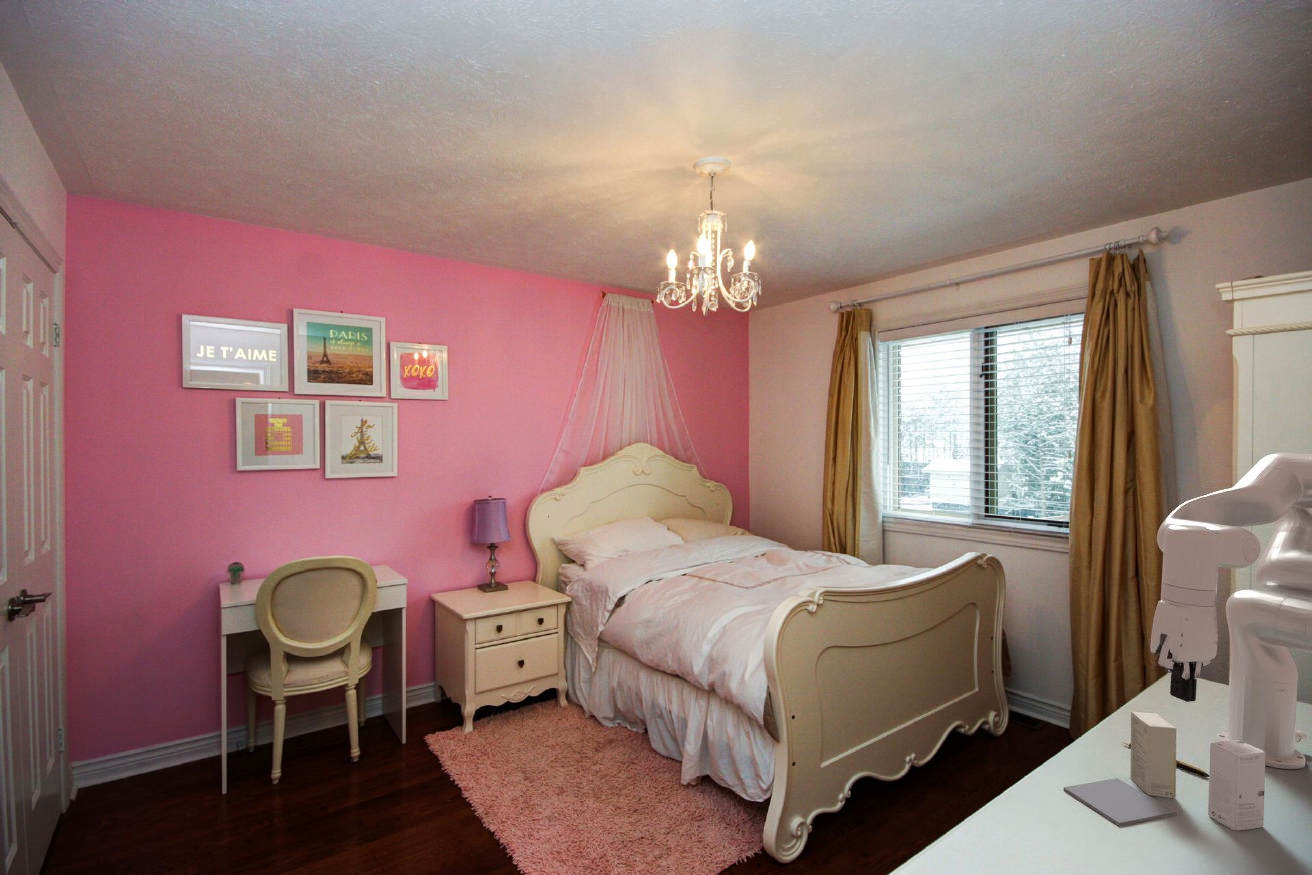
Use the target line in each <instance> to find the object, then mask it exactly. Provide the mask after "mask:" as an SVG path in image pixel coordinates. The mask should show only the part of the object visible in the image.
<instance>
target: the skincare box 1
mask: <svg viewBox="0 0 1312 875" xmlns="http://www.w3.org/2000/svg"><path fill="white" fill-rule="evenodd" d="M1130 743H1131V748H1130V773H1129V774H1130V778H1131V780H1133V782H1134V783H1135V784H1137V785H1138V787H1139V788H1140V789H1141V790H1142V791H1143V792H1144V793H1145V794H1146V795H1148V796H1153V797H1160V798H1172V799H1176V796H1177V795H1176V794H1177V793H1176V791H1177V789H1176V788H1177V787H1176V784H1177V783H1176V782H1177V767H1176V760H1177V727H1176V726H1174V725H1173V724H1172V723H1171V722H1169V721H1168V720H1166V719H1165V718H1164V717H1163V716H1161V715H1160V714H1158V713H1156V712H1146V711H1134V710H1131V711H1130Z"/></svg>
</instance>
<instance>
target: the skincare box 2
mask: <svg viewBox="0 0 1312 875" xmlns="http://www.w3.org/2000/svg"><path fill="white" fill-rule="evenodd" d="M1209 748H1210V749H1209V774H1208V775H1209V777H1208V778H1209V780H1208V782H1209V783H1208V802H1207V803H1208V807H1207V808H1208V809H1207V815H1208V816H1209V817H1211V818H1212V819H1213V820H1215V821H1216V822H1218V823H1220V824H1222V825H1224V826H1225V827H1227V828H1229V829H1230V830H1232V831H1245V830H1252V829H1253V830H1254V829H1257V828H1258V829H1260V828H1262V827H1264V824H1265V823H1264V821H1265V820H1264V819H1265V818H1264V816H1265V814H1264V813H1265V791H1266V790H1265V787H1266V786H1265V783H1266V782H1265V781H1266V776H1265V775H1266V765H1265V752H1264V751H1262V750H1260V749H1258V748H1255V747H1253V746H1251V745H1248V744H1246V743H1244V742H1241V741H1239V740H1236V741H1221V742H1217V741H1215V742H1210V747H1209Z"/></svg>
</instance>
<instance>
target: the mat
mask: <svg viewBox="0 0 1312 875" xmlns="http://www.w3.org/2000/svg"><path fill="white" fill-rule="evenodd" d="M1063 791H1064V792H1066V793H1068V795H1070V796H1072V797H1074V798H1075V799H1077V800H1078V801H1079V802H1081V803H1083V804H1084V805H1086V806H1087V807H1088V808H1090V809H1092V810H1094V811H1095V812H1097V813H1098V814H1100V815H1101V816H1103V817H1104V818H1106V819H1108V820H1109V821H1110V822H1112V823H1114V824H1115V825H1117V826H1118V827H1121V826H1125V825H1130V824H1135V823H1141V822H1146V821H1152V820H1158V819H1161V818H1166V817H1171V816H1176V815H1177V811H1175V810H1173V809H1172V808H1170V807H1168V806H1166V805H1165V804H1164V803H1161V802H1159V801H1158V800H1157V799H1154V797H1151V796H1150V795H1148V794H1147V793H1145V792H1142V791H1141V790H1139V789H1137V788H1135V787H1134V786H1132V785H1130V784H1128V783H1127V782H1125V781H1123V780H1121V779H1119V778H1118V777H1116V778H1109V779H1104V780H1098V781H1092V782H1088V783H1082V784H1075V785H1069V786H1064V787H1063Z"/></svg>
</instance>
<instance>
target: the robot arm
mask: <svg viewBox="0 0 1312 875" xmlns="http://www.w3.org/2000/svg"><path fill="white" fill-rule="evenodd" d="M1272 523H1274V526H1275V527H1274V530H1273V533H1272V535H1271V538H1270V539H1269V541H1268V542H1267V543H1268V544H1267V546H1266V547H1265V549H1264V551H1263V554H1262V556H1261V558H1260V560H1259V561H1258V564H1257V567H1256V570H1255V580H1256V583H1258V586H1260V587H1261V588H1263V589H1264V590H1260V589H1250V588H1249V589H1241V590H1237V591H1235V592H1233V593H1231V594H1230V596H1229V597H1228V599H1227V600H1226V603H1225V604H1226V605H1225V614H1226V615H1225V616H1226V622H1227V626H1228V632H1229V633H1228V634H1229V643H1230V644H1229V645H1230V657H1229V658H1230V659H1229V660H1230V662H1229V680H1228V681H1229V684H1228V707H1227V708H1228V710H1227V711H1228V712H1227V730H1224V731H1220V732H1219V733H1217V734H1216V742H1221V741H1236V740H1239V741H1241V742H1244V743H1246V744H1248V745H1251V746H1253V747H1255V748H1258V749H1260V750H1262V751H1264V752H1265V767H1266V766H1267V767H1269V768H1270V767H1271V768H1275V769H1276V768H1277V769H1284V770H1298V769H1302V768H1304V767H1305V766H1306V757H1305V756H1304V755H1303V754H1302V753H1301V752H1300V751H1299V750H1297V749H1296V744H1297V743H1299V742H1300V743H1301V742H1304V741H1305V742H1306V740H1307V739H1308V737H1307V734H1306V732H1304V731H1302V730H1297V729H1296V719H1297V716H1296V715H1297V700H1298V699H1297V698H1298V697H1297V696H1298V695H1297V694H1298V681H1299V672H1298V668H1297V665H1296V663H1295V661H1294V658H1293V657H1292V656H1291V653H1290V652H1289V651H1288V650H1287V648H1290V649H1293V650H1296V651H1301V652H1305V653H1308V654H1312V453H1307V452H1305V453H1301V452H1300V453H1299V452H1276V453H1271V454H1268V455H1266V456H1264V457H1262V458H1261V459H1260V460H1258V462H1256V463H1255V464H1254V465H1253V467H1252V468H1250V469H1249V470H1248V471H1247V473H1246V474H1244V475H1243V476H1242V477H1241V478H1240V479H1239V480H1238V482H1236V483H1235V484H1234V485H1233V486H1232V487H1230V488H1225V489H1222V490H1219V491H1215V492H1212V493H1209V494H1206V495H1203V496H1199V497H1196V498H1193V499H1190V500H1187V501H1185V502H1184V503H1182V504H1180V505H1179V506H1177V507H1176V508H1175V509H1174V510H1173V511H1172V512H1171V513H1170V514H1169V515H1168V516H1167V517H1166V518H1165V519H1164V521H1163V522H1162V523H1161V524H1160V527H1158V528H1159V529H1158V531H1157V534H1156V535H1157V536H1156V542H1157V545H1158V548H1159V549H1160V551H1161V552H1162V554H1163V555H1162V569H1161V570H1162V574H1161V587H1160V588H1161V589H1160V591H1161V592H1160V600H1158V601H1157V605H1156V608H1155V611H1154V615H1153V616H1154V617H1153V621H1152V628H1151V635H1150V636H1151V637H1150V644H1149V645H1150V647H1149V648H1150V653H1151V654H1153V655H1154V656H1159V658H1158V666H1160V667H1164V668H1166V669H1167V670H1168V673H1169V674H1170V686H1169V687H1170V689H1169V690H1170V691H1169V694H1170V696H1171V697H1174V698H1177V699H1179V700H1182V701H1185V702H1186V703H1191V702H1196V700H1197V684H1198V682H1197V681H1198V679H1199V678H1200V676H1201V675H1200V674H1201V670H1202V668H1203V667H1205V666H1207V665H1210V663H1211V660H1213V659H1215V658H1216V656H1217V652H1218V643H1219V642H1218V641H1219V634H1218V632H1219V630H1218V615H1217V596H1218V581H1219V580H1218V578H1219V577H1218V576H1219V568H1227V569H1236V570H1237V569H1238V570H1239V569H1245V568H1248V567H1250V566H1252V565H1253V564H1254V563H1255V562H1256V561H1257V560H1258V559H1259V557H1260V555H1261V551H1262V550H1261V543H1260V539H1259V538H1258V537H1257V536H1256V535H1255V534H1254V533H1253V532H1252V531H1250V530H1248V529H1246V527H1254V526H1255V527H1256V526H1262V525H1268V524H1272Z"/></svg>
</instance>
